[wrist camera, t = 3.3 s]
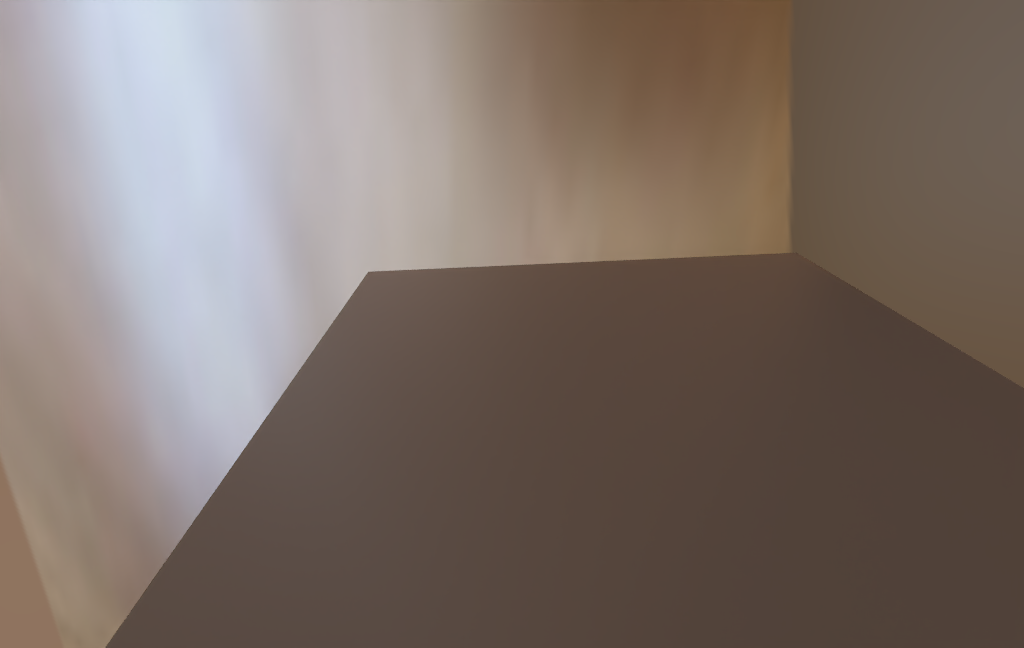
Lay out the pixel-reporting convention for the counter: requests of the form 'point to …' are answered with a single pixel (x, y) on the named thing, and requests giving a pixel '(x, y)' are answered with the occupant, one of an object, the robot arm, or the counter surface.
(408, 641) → the grey rectangular box
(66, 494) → the counter surface
